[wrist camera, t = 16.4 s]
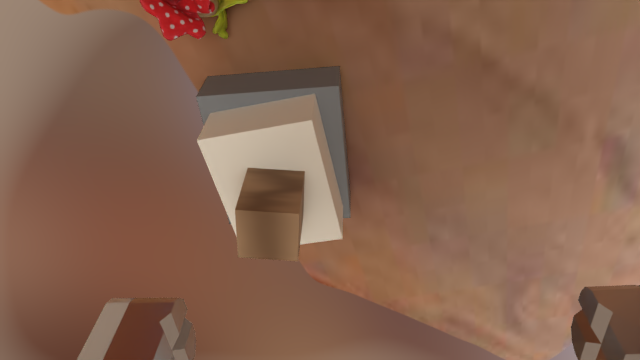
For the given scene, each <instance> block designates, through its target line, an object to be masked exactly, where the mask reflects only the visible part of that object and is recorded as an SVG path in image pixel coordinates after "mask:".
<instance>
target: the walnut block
mask: <svg viewBox="0 0 640 360" xmlns="http://www.w3.org/2000/svg"><path fill="white" fill-rule="evenodd" d="M304 181H305V171H293V170H277V169H261V168H247V172H246V175H245V178H244V181H243V185H242V188H241V191H240V195H239V198H238V201H237V205H236V208H235V219H236V234H237V249H238V257H243V258H258V259H272V260H289V261H298V256H299V248H300V240H301V232H302V223H303V212H304Z"/></svg>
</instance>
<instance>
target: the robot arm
mask: <svg viewBox="0 0 640 360" xmlns="http://www.w3.org/2000/svg"><path fill="white" fill-rule="evenodd" d="M578 301H579V303H580V305H581V307H582V310H580V311H579V312H578V313H576V314H575V315H574V317H573V321H572V326H571V335H572V343H573V347H574V351H575V353H576V356H577V358H578V360H640V285H638V286H637V285H622V286H595V287H584V289H583V290H582V291H581V293H580V296H579V299H578ZM186 312H187V307H186V305H185V302H184V300H183V299H181V298H112V299H111V300H110V301H109V302H107V303H106V305H105V307H104V309H103V310H102V312H101V315H100V316H99V318H98V320H97V322H96V324H95V326H94V328H93V330H92V331H91V333H90V335H89V337H88V339H87V341H86V343H85V345H84V347H83V349H82V351H81V353H80V355H79V357H78V358H77V360H194V357H195V348H196V337H195V330H194V327H193V324H192V323H191V322H189V321H188V320H187V319H185V315H186Z"/></svg>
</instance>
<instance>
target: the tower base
mask: <svg viewBox="0 0 640 360" xmlns="http://www.w3.org/2000/svg"><path fill="white" fill-rule="evenodd" d="M310 94H315V95H316V99H317V104H318V108H319V112H320V116H321V120H322V124H323V128H324V132H325V136H326V140H327V144H328V148H329V152H330V156H331V160H332V164H333V168H334V172H335V176H336V180H337V184H338V188H339V192H340V196H341V200H342V204H343V218H350V183H349V171H348V160H347V148H346V136H345V125H344V113H343V101H342V89H341V78H340V66H334V67H321V68H308V69H296V70H283V71H270V72H258V73H245V74H232V75H220V76H208V77H207V78H206V80H205V82H204V84H203V86H202V87H201V89H200V91H199V93H198V94H197V96H196V97H197V102H198V105H199V109H200V113H201V117H202V120H203V124H204V125H205V123H206V120H207V118H208V116H209V114H210V113H213V112H219V111H224V110H229V109H235V108H240V107H246V106H251V105H256V104H262V103H267V102H272V101H278V100H283V99H289V98H294V97H299V96H305V95H310ZM227 216H228V215H227ZM228 220H229V223H230V224H231V222H230V219H229V217H228Z"/></svg>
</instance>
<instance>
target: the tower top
mask: <svg viewBox="0 0 640 360" xmlns="http://www.w3.org/2000/svg"><path fill="white" fill-rule="evenodd" d="M197 142H198V144H199V147H200V149H201V151H202V154H203V156H204V159H205V161H206V164H207V166H208V169H209V171H210V173H211V176H212V178H213V181H214V183H215V185H216V188H217V190H218V193H219V195H220V198H221V200H222V202H223V205H224V207H225V210H226V212H227V215H228V217H229V219H230V222H231V224H232V226H233V229H234V232H235V234H236V219H235V208H236V205H237V201H238V198H239V195H240V191H241V188H242V185H243V181H244V178H245V175H246V172H247V168H261V169H277V170H293V171H305V181H304V212H303V223H302V232H301V240H300V244H307V243H315V242H322V241H329V240H337V239H343V204H342V200H341V196H340V192H339V188H338V184H337V180H336V176H335V172H334V168H333V164H332V160H331V156H330V152H329V148H328V144H327V140H326V136H325V132H324V128H323V124H322V120H321V116H320V112H319V108H318V104H317V99H316V95H315V94H310V95H305V96H299V97H294V98H289V99H283V100H278V101H272V102H267V103H262V104H256V105H251V106H246V107H240V108H235V109H229V110H224V111H219V112H213V113H210V114H209V116H208V118H207V120H206V123H205V125H204V127H203V129H202V131H201V133H200V135H199V137H198V139H197ZM236 236H237V234H236Z"/></svg>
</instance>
